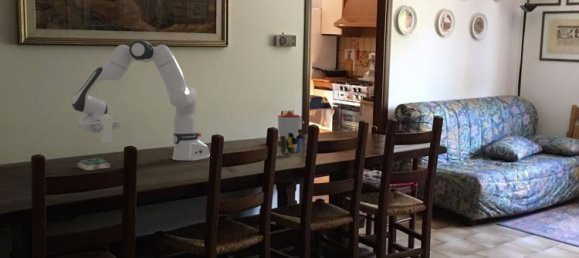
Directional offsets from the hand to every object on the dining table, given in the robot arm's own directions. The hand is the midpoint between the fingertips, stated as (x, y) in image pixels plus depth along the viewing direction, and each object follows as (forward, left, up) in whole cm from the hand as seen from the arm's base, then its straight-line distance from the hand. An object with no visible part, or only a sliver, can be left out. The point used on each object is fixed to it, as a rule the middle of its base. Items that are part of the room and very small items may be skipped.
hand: (106, 126), depth 306 cm
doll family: (-95, +33, -20) cm, 103 cm away
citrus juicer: (-125, -4, -20) cm, 127 cm away
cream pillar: (0, -1, -7) cm, 8 cm away
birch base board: (+8, 0, -20) cm, 21 cm away
